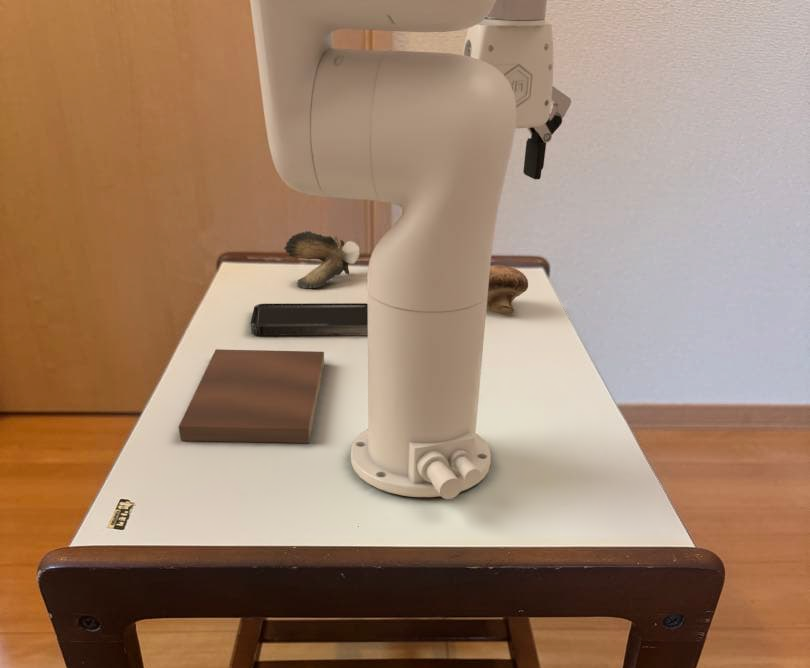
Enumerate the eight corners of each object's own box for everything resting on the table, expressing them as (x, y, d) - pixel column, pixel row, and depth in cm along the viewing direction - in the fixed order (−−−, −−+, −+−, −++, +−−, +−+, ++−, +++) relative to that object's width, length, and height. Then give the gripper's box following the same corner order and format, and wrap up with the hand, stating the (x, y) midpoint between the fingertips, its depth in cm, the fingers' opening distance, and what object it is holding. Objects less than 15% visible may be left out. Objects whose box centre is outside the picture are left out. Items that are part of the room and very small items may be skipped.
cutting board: (309, 443, 74) (308, 429, 73) (180, 440, 74) (178, 426, 73) (324, 364, 88) (324, 351, 87) (217, 361, 88) (215, 349, 87)
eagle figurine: (323, 256, 116) (274, 257, 110) (345, 219, 111) (296, 217, 105) (349, 296, 114) (302, 299, 108) (373, 260, 109) (325, 261, 103)
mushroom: (528, 300, 97) (517, 250, 97) (466, 320, 99) (455, 271, 99) (538, 312, 104) (527, 265, 104) (480, 329, 107) (470, 284, 107)
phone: (254, 303, 100) (373, 303, 101) (255, 312, 100) (373, 311, 101) (249, 326, 93) (376, 326, 94) (250, 336, 94) (376, 335, 95)
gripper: (451, 10, 79) (442, 192, 89) (599, 10, 84) (574, 182, 94) (422, 5, 84) (417, 177, 95) (562, 5, 90) (543, 168, 100)
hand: (496, 179), depth 94 cm, fingers open, 9 cm apart
